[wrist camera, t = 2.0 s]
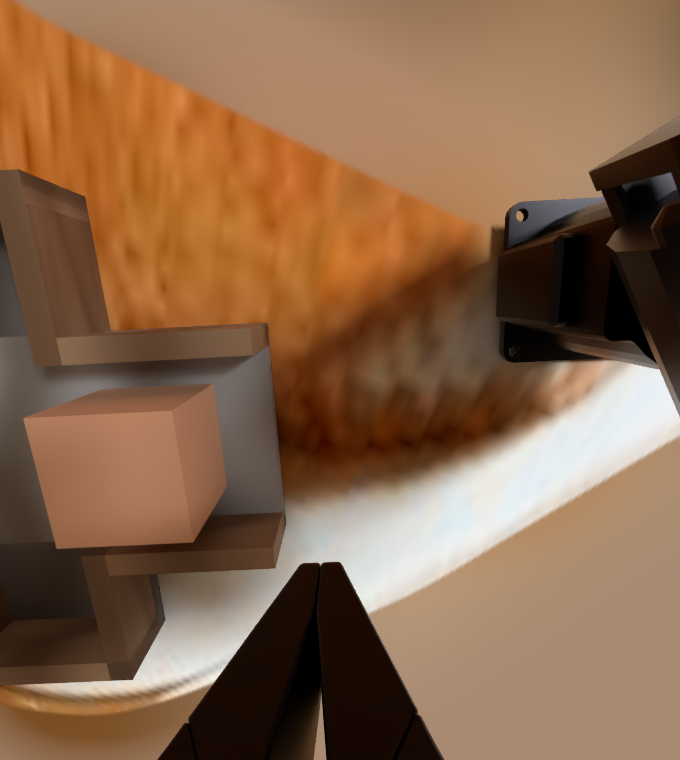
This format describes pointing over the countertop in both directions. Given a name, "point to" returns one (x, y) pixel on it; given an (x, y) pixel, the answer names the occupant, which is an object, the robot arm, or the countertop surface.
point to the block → (129, 465)
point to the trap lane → (84, 376)
